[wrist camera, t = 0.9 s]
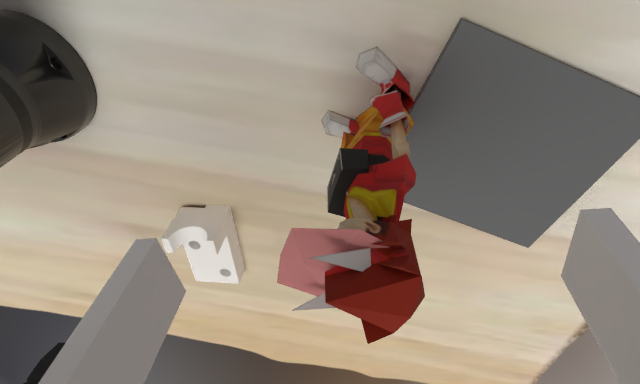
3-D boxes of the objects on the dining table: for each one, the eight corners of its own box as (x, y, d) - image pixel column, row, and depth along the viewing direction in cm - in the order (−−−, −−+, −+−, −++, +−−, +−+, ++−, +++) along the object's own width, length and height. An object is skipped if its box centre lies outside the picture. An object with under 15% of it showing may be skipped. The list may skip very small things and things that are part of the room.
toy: (339, 31, 39) (288, 222, 15) (422, 55, 40) (497, 276, 16) (313, 131, 47) (250, 368, 23) (383, 150, 47) (395, 402, 23)
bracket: (183, 203, 56) (161, 238, 50) (230, 204, 55) (213, 240, 49) (203, 264, 64) (186, 301, 58) (245, 266, 63) (231, 304, 57)
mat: (367, 185, 50) (367, 188, 50) (461, 17, 37) (462, 19, 37) (526, 243, 53) (528, 247, 53) (663, 107, 40) (668, 110, 40)
